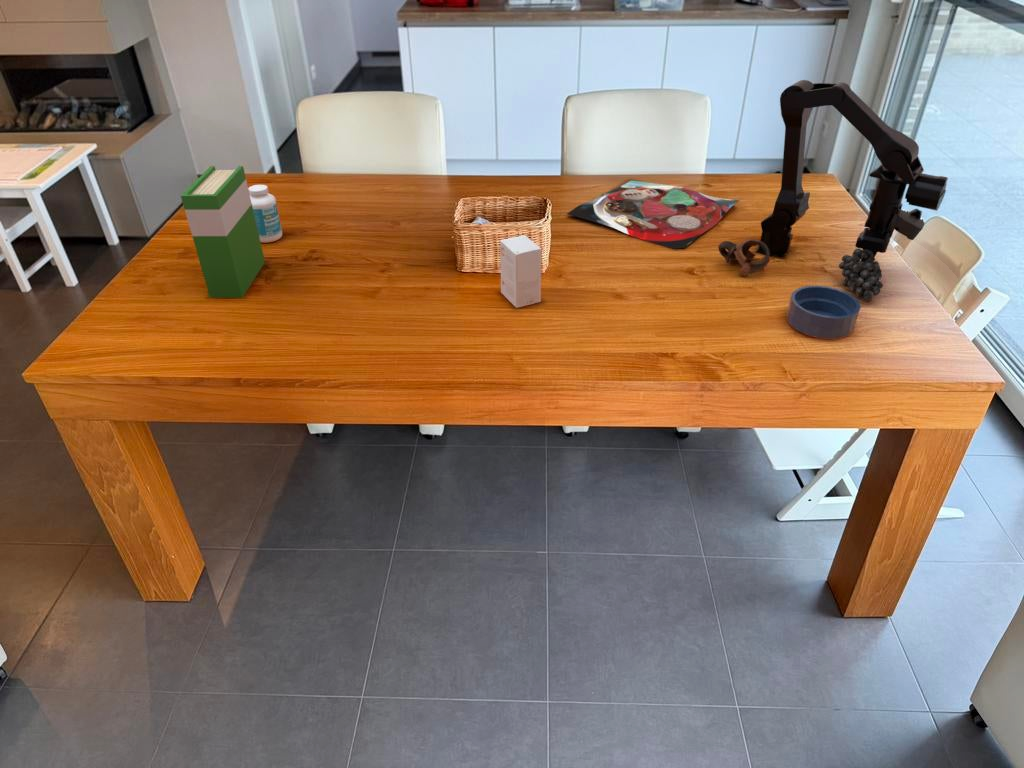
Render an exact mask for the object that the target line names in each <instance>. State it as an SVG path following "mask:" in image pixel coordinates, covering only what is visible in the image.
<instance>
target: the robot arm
mask: <svg viewBox="0 0 1024 768" xmlns="http://www.w3.org/2000/svg"><path fill="white" fill-rule="evenodd" d="M779 106H780V115H781V118H782V121H783V124H784V128H785V129H784V142H783V156H782V171H781V184H780V190H779V192H778V196H777V197H776V200H775V202H774V205H773V206H774V207H773V210H772V213H770V214H769V215H768V216H767V217H766V218H764V219H763V220H762V221H761V222H760V229H761V235H760V240H759V241H762V242H763V243H765V244H766V245H767V247H768V249H769V252H770V256H772V257H777V258H783V257H784V256H785V255H786V254H787V253H789V252H790V251H789V250H790V248H791V244H792V241H793V236H794V234H793V233H792V231H793V226H794V225H795V224H796V223H797V222H798V221H800V220H801V219H802V218H803V217H804V216H805V214H806V213H807V211H808V210H810V206H809V201H810V200H809V199H810V196H811V193H810V192H809V191H808V192H805V191H804V188H803V174H804V173H803V172H804V162H805V149H806V137H807V126H808V122H809V119H810V117H811V114H812V112H813V109H814V108H819V107H825V106H827V107H829V106H832V107H833V108H835V109H836V111H838V112H839V114H841V115H842V117H843V118H845V119H846V120H847V121H848V122H849V124H851V126H853V127H854V128H855V129H856V131H858V133H860V134H861V135H862V136H863V137H864V138H865V139H866V140H867V141H868V142H869V143H870V145H871V147H872V148H873V151H874V153H875V156H876V158H877V159H878V161H879V162H880V163H881V164H880V165H879V166H878V167H876V168H874V169H873V170H872V171H871V172H870V173H869V174H868V175H869V176H868V177H870V178H874V179H878V180H877V183H876V187H875V189H874V194H873V198H872V200H871V203H870V205H869V211H868V215H867V218H866V220H865V223H864V226H863V227H864V229H863V231H861V232H860V233H859V234H858V236H857V238H856V242H855V246H854V247H855V248H856V249H858V248H859V249H861V250H864V249H865V250H870V251H872V252H873V254H874V255H873V256H874V257H875V258H876V256H877V254H878V253H880V254H884V253H886V252H887V250H888V247H889V244H890V241H891V238H892V237H893V234H894V231H895V232H897V233H899V234H901V235H903V236H904V237H906V239H908V240H910V241H915V238H916V237H918V235H919V234H920V233H921V231H922V230H923V229H924V226H925V224H926V223H925V221H924V219H923V218H922V213H923V211H922V210H920V209H919V208H923V209H927V210H931V211H937V212H938V210H939V208H940V207H941V204H942V203H943V200H944V198H945V195H946V193H947V184H948V183H947V182H948V179H949V178H948V176H942V175H933V174H927V173H923V172H924V171H925V169H924V167H923V164H922V162H921V160H920V158H919V151H920V146H919V145H918V143H917V142H916V141H915V140H914V139H912V138H911V137H909V136H908V135H906V134H905V133H903V132H901V131H899V130H897V129H894V128H892V127H891V126H890V125H888V123H886V122H885V121H884V120H883V119H882V118H881V117H880V116H879V115H878V114H877V113H876V112H874V110H873V109H872V108H871V107H870V106H869V105H867V103H866V102H864V100H862V99H861V98H860V97H859V96H858V94H856V93H855V92H854V90H852V89H851V87H850V85H849V84H848V83H846V82H835V83H832V82H831V83H830V82H817V83H816V82H815V83H813V82H811V81H810V80H808V79H802V80H799V81H796V82H795V83H792V84H791V85H790V86H788V87H786V88H785V89H784V90H783V91H782V92H781V94H780V97H779ZM907 186H908V187H907ZM906 189H907V190H906ZM903 198H904V199H905V200H906V201H905V203H908V206H913V207H918V208H914V209H912V210H906V211H905V210H903V209H902V207H903V206H904V205H903V203H902V201H903ZM756 253H759V254H764V255H766V254H765V251H764V250H763V249H762V248H761V247H760V246H759V245H758V247H757V249H756Z"/></svg>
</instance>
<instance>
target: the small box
mask: <svg viewBox="0 0 1024 768" xmlns="http://www.w3.org/2000/svg"><path fill="white" fill-rule="evenodd" d="M499 250H500V252H499V253H500V254H499V255H500V256H499V257H500V293H501V294H502V296H504V297H505V299H507V300H508V302H510V303H511V305H512V306H514V308H516V309H519V308H522V307H527V306H530V305H534V304H538V303H541V302H542V251H543V250H542V248H541V247H540V246H539V245H538V244H537V243H535V242H534V241H533V240H532V239H531V238H530V237H528V236H527V235H526V234H524V235H519V236H514V237H509V238H504V239H500V240H499Z"/></svg>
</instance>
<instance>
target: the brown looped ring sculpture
mask: <svg viewBox="0 0 1024 768" xmlns="http://www.w3.org/2000/svg"><path fill="white" fill-rule="evenodd" d="M756 246H758V247H759V246H760V247H761V248H762V249H763V250H764V251H765V254H764V258H763V259H761V260H759V261H753V259H754V258H755V257H756V253H754V252H752V251H751V248H752V247H756ZM717 248H718V252H719V254H720V255H721V256H722V258H724V260H725V262H726V263H728V264H729V263H730V262H733V261H734V260H735V259H736V260H737V262H738V263H739V264H740V265H741V268H740V269H739V270H738V275H739V276H742V277H745V276H747V275H748V274H749V275H750V274H754V273H758V272H761V271H763V270H764V269H765V267H767V266H768V265H769V262H770V256H771V255H770V252H769V249H768V247H767V245H766V244H765V243H763V242H762V241H760V240H759V239H756V238H747V239H744V240H742V241H740V242H737V243H735V242H733V241H730V240H724V241H722V242H720V243H719V244H718V246H717ZM747 260H749V261H750V262H749V263H748V262H746V261H747Z"/></svg>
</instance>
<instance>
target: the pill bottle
mask: <svg viewBox="0 0 1024 768" xmlns="http://www.w3.org/2000/svg"><path fill="white" fill-rule="evenodd" d="M248 190H249V194H250V199H251V203H252V207H253V212H254V216H255V221H256V225H257V229H258V234H259V238H260V242H261V243H266V244H267V243H273V242H276V241H278V240H280V239H281V238H282V237H283V229H282V224H281V219H280V215H279V209H278V203H277V199H276V197H275V195H273V194H271V193H269V187H268V186H267V185H266V184H254V185H251V186H248Z"/></svg>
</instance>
